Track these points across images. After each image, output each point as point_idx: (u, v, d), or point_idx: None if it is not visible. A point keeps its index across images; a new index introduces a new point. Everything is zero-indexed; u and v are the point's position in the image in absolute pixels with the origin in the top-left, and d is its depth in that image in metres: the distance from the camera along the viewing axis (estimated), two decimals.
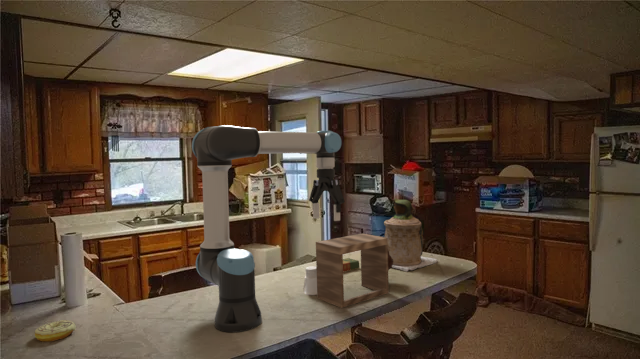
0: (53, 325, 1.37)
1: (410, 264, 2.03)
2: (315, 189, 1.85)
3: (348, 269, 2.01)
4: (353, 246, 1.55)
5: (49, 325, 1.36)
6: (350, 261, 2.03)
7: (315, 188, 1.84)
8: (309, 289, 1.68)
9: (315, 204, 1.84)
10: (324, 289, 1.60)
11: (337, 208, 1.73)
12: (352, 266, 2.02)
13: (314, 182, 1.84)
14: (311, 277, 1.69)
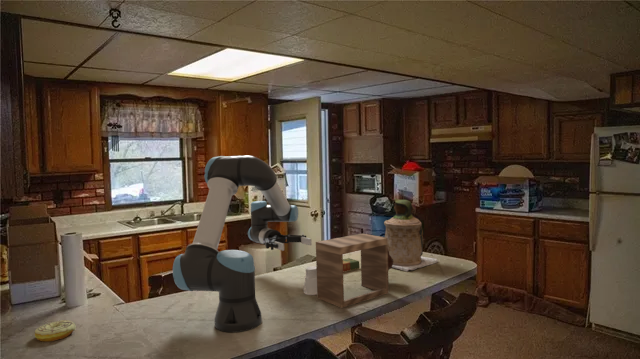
0: (53, 325, 1.37)
1: (410, 264, 2.03)
2: None
3: (348, 269, 2.01)
4: (353, 246, 1.55)
5: (49, 325, 1.36)
6: (351, 261, 2.03)
7: None
8: (309, 289, 1.68)
9: None
10: (324, 289, 1.60)
11: None
12: (352, 267, 2.02)
13: (265, 238, 1.86)
14: (311, 277, 1.69)
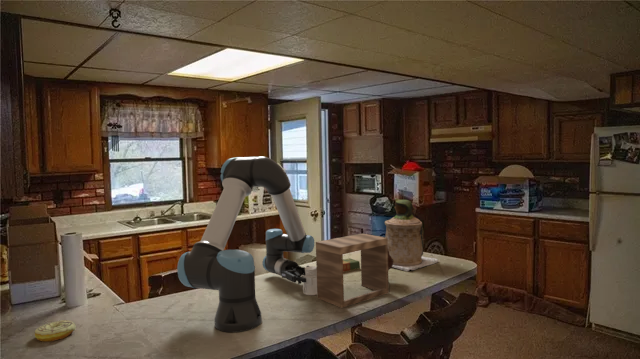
0: (53, 325, 1.37)
1: (411, 264, 2.03)
2: None
3: (348, 269, 2.01)
4: (353, 246, 1.55)
5: (49, 325, 1.36)
6: (351, 262, 2.02)
7: None
8: (308, 289, 1.68)
9: None
10: (324, 289, 1.60)
11: None
12: (352, 267, 2.02)
13: (284, 271, 1.76)
14: None
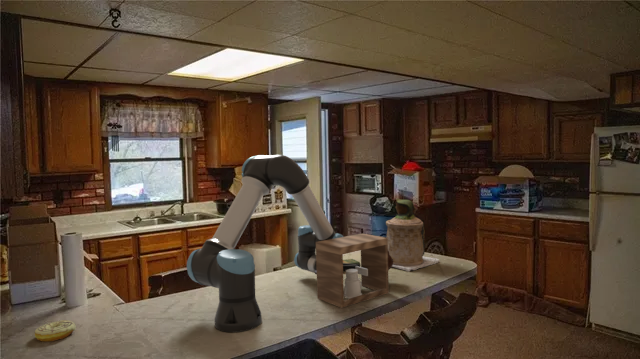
0: (54, 325, 1.37)
1: (412, 264, 2.03)
2: None
3: None
4: (353, 246, 1.55)
5: (49, 325, 1.36)
6: (351, 262, 2.02)
7: None
8: (350, 292, 1.63)
9: None
10: (324, 289, 1.60)
11: None
12: None
13: None
14: (352, 280, 1.63)
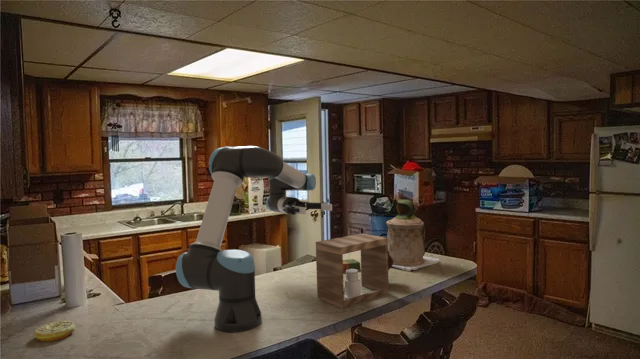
0: (54, 325, 1.37)
1: (413, 264, 2.03)
2: None
3: None
4: (353, 246, 1.55)
5: (49, 325, 1.36)
6: (351, 262, 2.01)
7: None
8: (350, 292, 1.63)
9: None
10: (324, 289, 1.60)
11: None
12: (351, 268, 2.00)
13: (285, 205, 1.85)
14: (352, 280, 1.63)
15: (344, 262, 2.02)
